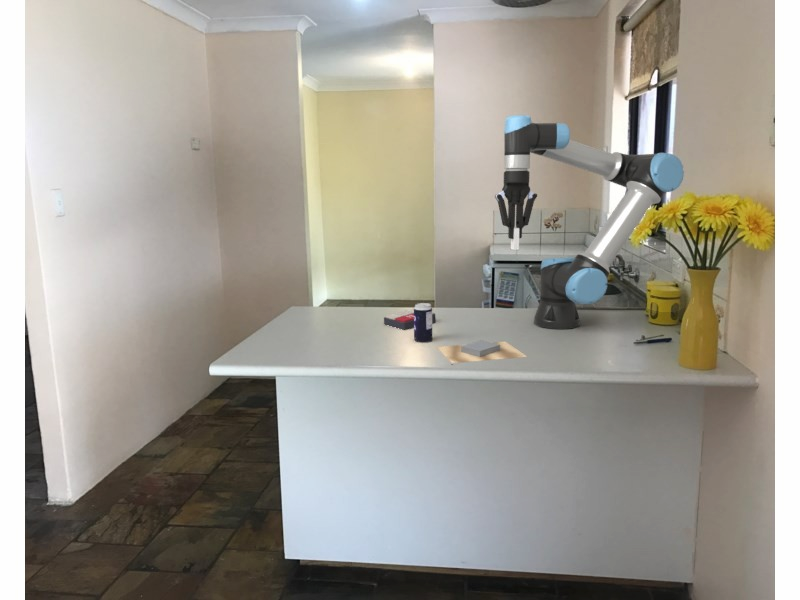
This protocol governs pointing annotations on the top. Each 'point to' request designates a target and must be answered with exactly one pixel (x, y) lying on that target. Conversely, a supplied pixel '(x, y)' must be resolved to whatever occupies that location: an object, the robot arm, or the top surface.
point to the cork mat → (505, 352)
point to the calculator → (403, 319)
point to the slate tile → (480, 348)
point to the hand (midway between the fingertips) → (514, 249)
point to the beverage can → (423, 322)
